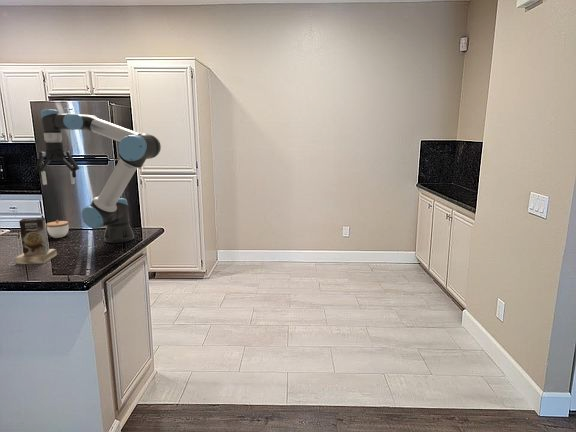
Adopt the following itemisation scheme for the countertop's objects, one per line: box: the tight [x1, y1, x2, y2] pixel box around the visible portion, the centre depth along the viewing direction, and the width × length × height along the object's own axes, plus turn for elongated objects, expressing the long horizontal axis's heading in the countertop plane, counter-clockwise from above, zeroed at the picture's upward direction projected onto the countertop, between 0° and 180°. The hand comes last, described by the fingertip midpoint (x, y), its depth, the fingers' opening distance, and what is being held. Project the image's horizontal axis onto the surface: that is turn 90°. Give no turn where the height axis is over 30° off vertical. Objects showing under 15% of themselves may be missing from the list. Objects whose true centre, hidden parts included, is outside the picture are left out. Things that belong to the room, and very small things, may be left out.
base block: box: [14, 248, 58, 265], centre depth 177 cm, size 12×12×3 cm
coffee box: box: [19, 216, 50, 256], centre depth 175 cm, size 9×6×16 cm
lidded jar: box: [46, 219, 70, 239], centre depth 216 cm, size 11×11×9 cm
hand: (59, 184), depth 196 cm, fingers open, 13 cm apart
